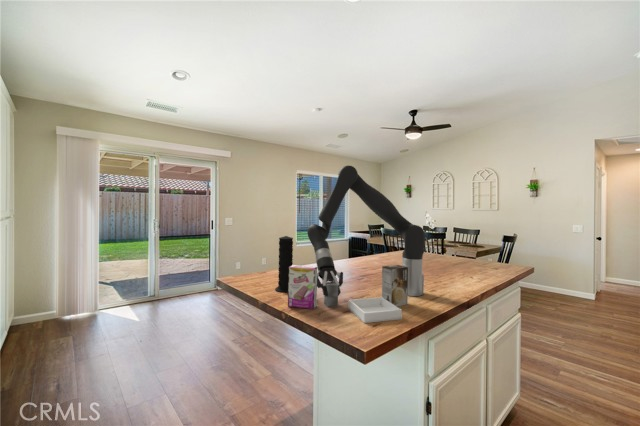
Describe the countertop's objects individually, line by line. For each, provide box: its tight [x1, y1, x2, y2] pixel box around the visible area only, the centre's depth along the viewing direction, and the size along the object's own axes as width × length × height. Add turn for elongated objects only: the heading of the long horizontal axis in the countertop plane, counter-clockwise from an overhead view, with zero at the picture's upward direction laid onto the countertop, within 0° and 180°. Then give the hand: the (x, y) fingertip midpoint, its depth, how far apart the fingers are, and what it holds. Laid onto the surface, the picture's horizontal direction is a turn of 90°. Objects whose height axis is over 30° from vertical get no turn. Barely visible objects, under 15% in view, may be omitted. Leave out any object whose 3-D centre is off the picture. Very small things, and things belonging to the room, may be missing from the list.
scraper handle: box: [323, 281, 339, 308], centre depth 116 cm, size 4×4×9 cm
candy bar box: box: [287, 264, 318, 310], centre depth 114 cm, size 11×5×16 cm, turn 78°
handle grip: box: [274, 235, 294, 294], centre depth 137 cm, size 10×26×10 cm
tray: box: [347, 296, 403, 324], centre depth 108 cm, size 15×15×4 cm
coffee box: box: [381, 264, 409, 307], centre depth 119 cm, size 9×6×16 cm
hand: (332, 295), depth 115 cm, fingers closed on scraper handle, 4 cm apart
